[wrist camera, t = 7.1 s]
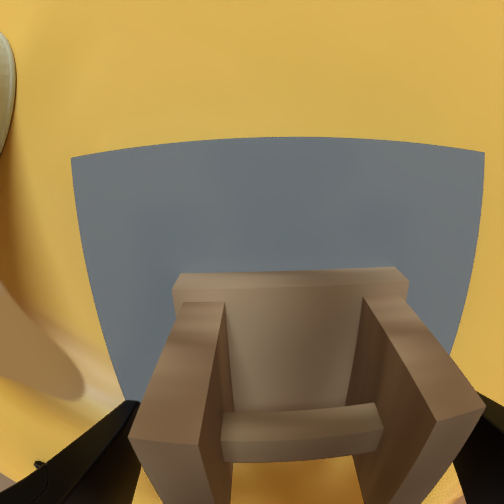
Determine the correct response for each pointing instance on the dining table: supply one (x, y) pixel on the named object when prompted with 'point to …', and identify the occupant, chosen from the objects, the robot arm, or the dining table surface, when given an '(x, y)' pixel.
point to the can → (6, 87)
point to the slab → (270, 225)
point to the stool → (301, 385)
